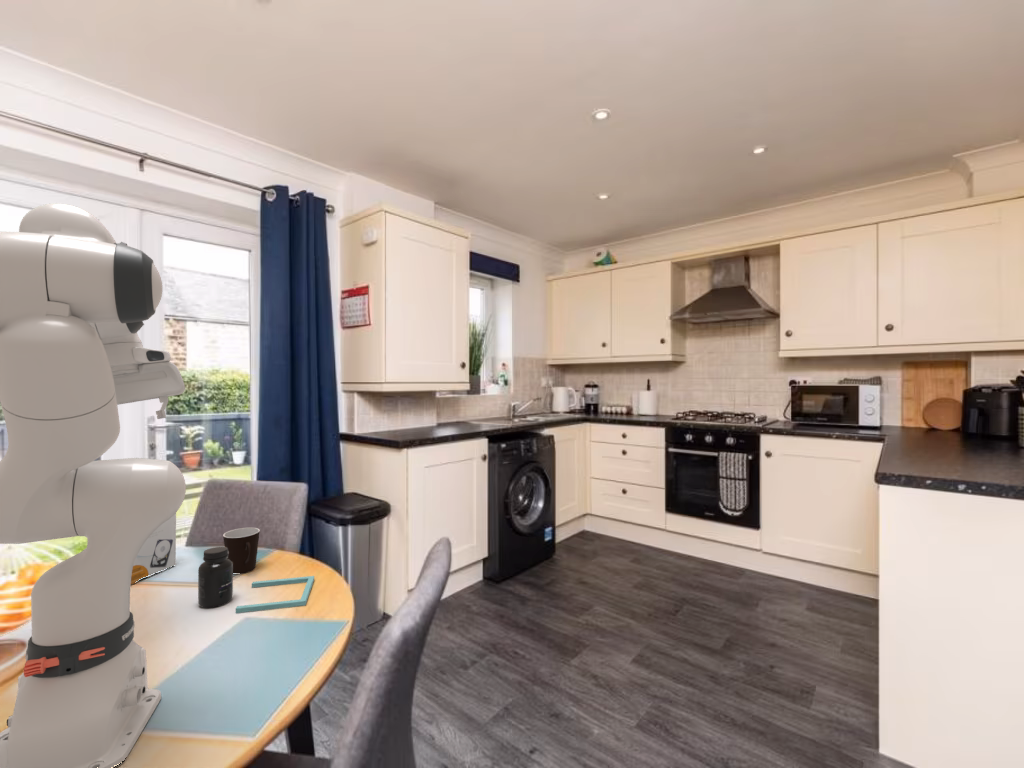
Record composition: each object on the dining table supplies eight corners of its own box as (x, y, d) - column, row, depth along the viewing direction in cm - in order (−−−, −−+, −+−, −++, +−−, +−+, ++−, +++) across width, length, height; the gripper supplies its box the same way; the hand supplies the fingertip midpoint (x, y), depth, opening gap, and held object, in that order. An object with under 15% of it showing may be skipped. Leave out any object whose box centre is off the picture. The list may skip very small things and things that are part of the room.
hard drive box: (121, 590, 117) (120, 508, 117) (95, 587, 119) (95, 506, 119) (177, 565, 133) (176, 493, 132) (154, 563, 134) (153, 492, 134)
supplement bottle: (230, 605, 109) (229, 553, 109) (194, 611, 107) (194, 557, 107) (235, 593, 116) (234, 543, 116) (202, 598, 113) (201, 547, 113)
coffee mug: (228, 565, 133) (227, 529, 133) (262, 561, 135) (262, 526, 135) (215, 582, 122) (215, 543, 121) (254, 578, 124) (253, 539, 124)
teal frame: (305, 605, 109) (305, 601, 109) (235, 613, 106) (235, 608, 106) (314, 579, 123) (314, 575, 123) (252, 585, 120) (252, 581, 120)
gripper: (52, 365, 94) (69, 434, 94) (177, 351, 107) (192, 411, 108) (54, 370, 98) (70, 436, 99) (174, 356, 112) (188, 414, 112)
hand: (135, 423), depth 103 cm, fingers open, 8 cm apart
